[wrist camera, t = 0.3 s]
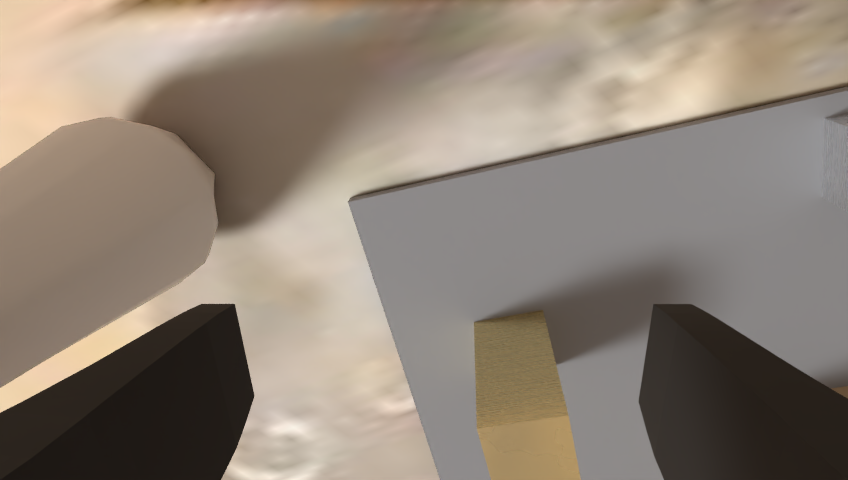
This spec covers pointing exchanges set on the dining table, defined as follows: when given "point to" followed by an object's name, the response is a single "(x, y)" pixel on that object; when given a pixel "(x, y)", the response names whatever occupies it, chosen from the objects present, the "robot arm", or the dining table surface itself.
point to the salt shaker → (95, 232)
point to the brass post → (521, 401)
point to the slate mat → (614, 267)
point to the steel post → (835, 161)
